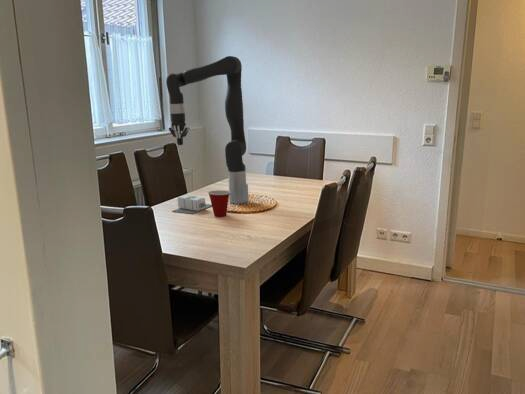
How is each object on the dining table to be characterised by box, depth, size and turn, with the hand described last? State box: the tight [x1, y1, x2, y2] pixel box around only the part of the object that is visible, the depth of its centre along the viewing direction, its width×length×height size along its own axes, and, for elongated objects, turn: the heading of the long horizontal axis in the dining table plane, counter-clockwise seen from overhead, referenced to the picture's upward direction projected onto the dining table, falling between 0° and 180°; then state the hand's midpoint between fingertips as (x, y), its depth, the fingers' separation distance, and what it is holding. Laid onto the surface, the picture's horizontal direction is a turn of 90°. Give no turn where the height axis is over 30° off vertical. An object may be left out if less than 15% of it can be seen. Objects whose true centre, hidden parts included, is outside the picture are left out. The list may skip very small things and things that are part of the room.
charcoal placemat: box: [172, 203, 212, 215], centre depth 248 cm, size 13×18×1 cm
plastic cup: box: [207, 190, 231, 218], centre depth 232 cm, size 11×11×12 cm
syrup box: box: [177, 194, 207, 212], centre depth 247 cm, size 6×6×14 cm
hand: (180, 145), depth 258 cm, fingers closed
